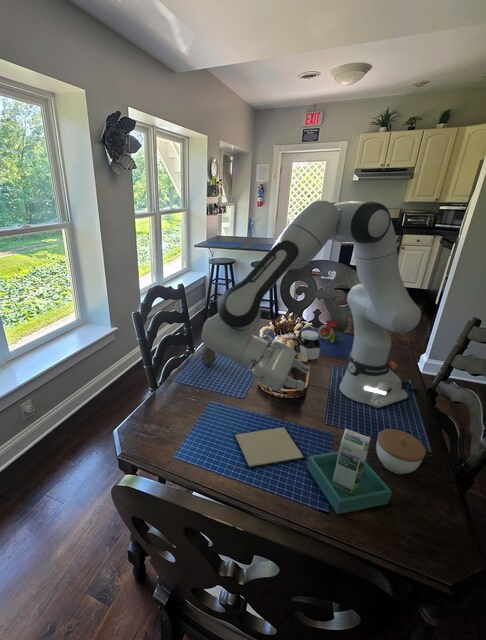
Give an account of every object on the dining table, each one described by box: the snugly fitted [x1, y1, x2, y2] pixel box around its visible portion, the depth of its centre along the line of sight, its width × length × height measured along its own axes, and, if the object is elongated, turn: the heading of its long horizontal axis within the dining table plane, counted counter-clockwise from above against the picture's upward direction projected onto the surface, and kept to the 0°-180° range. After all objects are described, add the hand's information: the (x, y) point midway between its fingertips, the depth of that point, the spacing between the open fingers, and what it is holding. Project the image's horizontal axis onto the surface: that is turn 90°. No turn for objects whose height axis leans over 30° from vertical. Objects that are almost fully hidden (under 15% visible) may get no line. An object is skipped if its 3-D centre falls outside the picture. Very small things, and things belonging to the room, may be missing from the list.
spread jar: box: [300, 329, 321, 362], centre depth 139 cm, size 12×11×12 cm
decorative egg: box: [200, 345, 216, 367], centre depth 135 cm, size 6×6×10 cm
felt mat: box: [235, 426, 304, 468], centre depth 94 cm, size 16×12×1 cm
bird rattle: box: [318, 319, 340, 344], centre depth 154 cm, size 6×11×9 cm
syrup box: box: [332, 428, 372, 496], centre depth 79 cm, size 6×6×14 cm
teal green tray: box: [306, 450, 393, 515], centre depth 81 cm, size 14×14×4 cm
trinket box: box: [375, 428, 427, 475], centre depth 86 cm, size 11×11×9 cm
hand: (306, 378), depth 81 cm, fingers open, 8 cm apart
